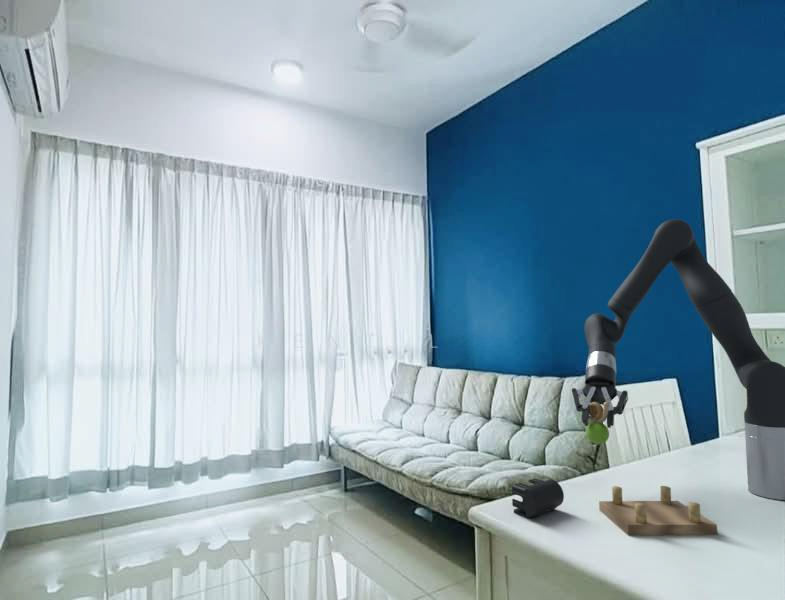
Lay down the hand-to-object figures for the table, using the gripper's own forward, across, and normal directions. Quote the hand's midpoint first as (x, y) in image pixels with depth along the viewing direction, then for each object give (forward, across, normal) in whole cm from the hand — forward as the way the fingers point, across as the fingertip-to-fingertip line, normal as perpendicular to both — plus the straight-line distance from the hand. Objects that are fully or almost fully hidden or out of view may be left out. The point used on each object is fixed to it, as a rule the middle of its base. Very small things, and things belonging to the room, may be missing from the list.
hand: (597, 424), depth 116 cm
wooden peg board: (+20, +12, +5) cm, 24 cm away
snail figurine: (+2, 0, +5) cm, 6 cm away
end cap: (+25, -11, 0) cm, 27 cm away
